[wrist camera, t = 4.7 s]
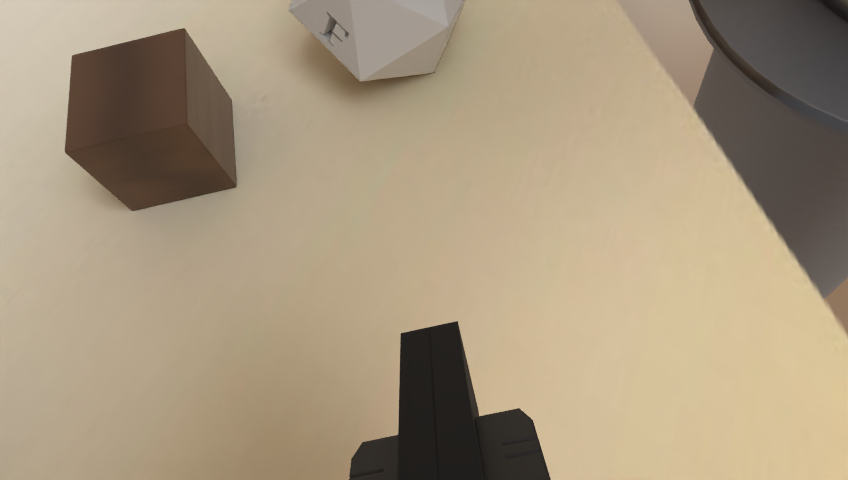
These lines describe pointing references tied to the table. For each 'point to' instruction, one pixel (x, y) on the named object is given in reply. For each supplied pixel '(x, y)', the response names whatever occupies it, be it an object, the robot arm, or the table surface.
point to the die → (381, 33)
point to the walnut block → (151, 121)
